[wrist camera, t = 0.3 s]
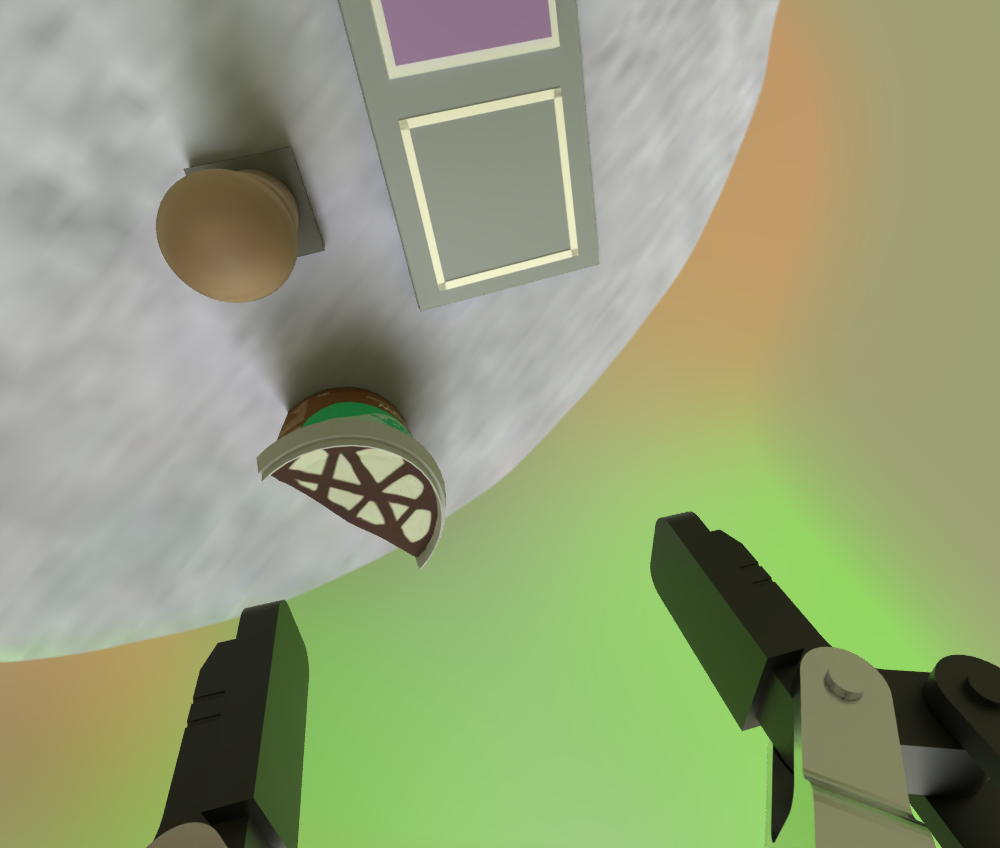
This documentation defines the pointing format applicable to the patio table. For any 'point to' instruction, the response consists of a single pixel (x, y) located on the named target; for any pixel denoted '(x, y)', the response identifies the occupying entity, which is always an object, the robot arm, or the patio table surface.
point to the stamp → (238, 226)
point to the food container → (361, 467)
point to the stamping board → (478, 138)
